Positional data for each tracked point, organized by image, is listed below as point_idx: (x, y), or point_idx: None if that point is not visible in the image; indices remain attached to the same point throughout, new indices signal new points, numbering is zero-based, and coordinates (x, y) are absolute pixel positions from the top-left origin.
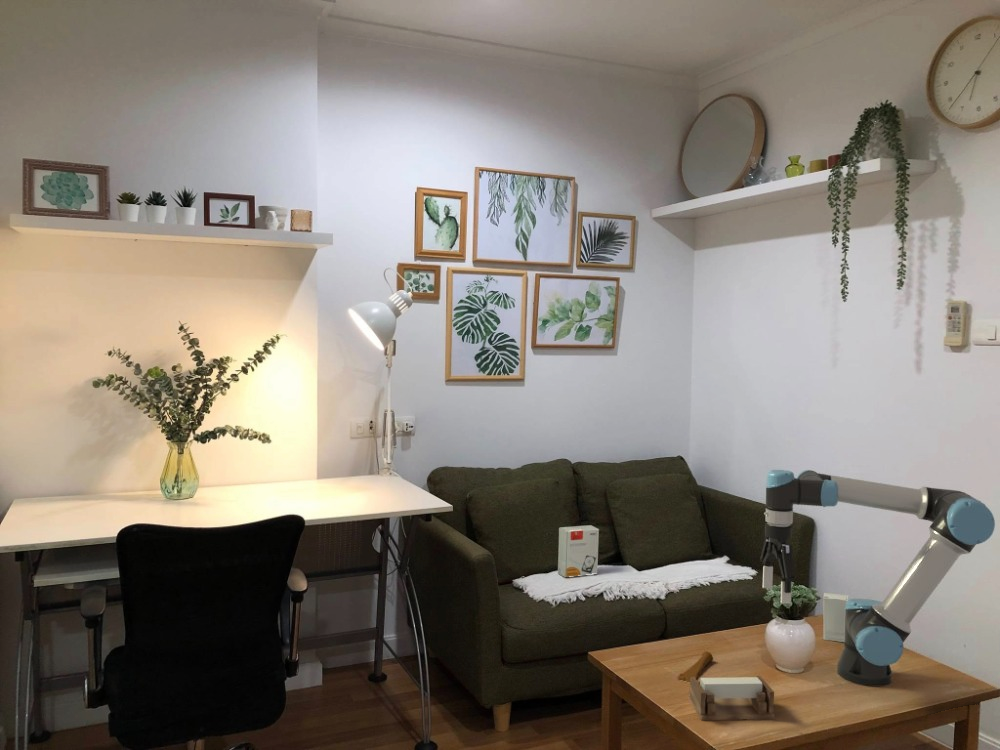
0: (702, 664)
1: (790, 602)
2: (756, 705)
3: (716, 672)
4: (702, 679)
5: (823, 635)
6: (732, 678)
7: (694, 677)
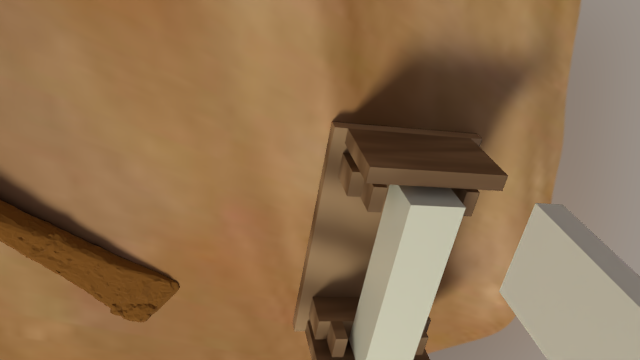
0: (43, 236)
1: (566, 215)
2: None
3: (79, 182)
4: None
5: None
6: (393, 289)
7: None
